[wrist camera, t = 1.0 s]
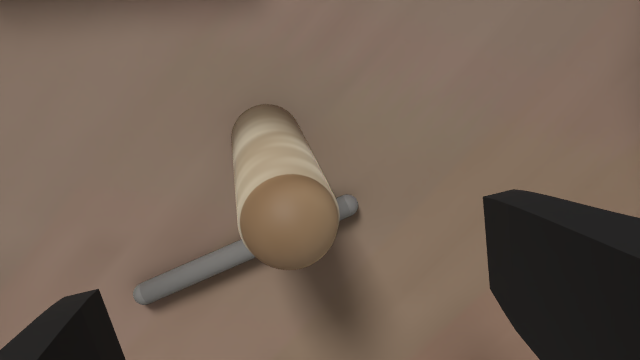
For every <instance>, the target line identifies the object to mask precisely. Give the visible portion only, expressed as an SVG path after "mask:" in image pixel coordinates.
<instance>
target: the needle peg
mask: <svg viewBox="0 0 640 360" xmlns="http://www.w3.org/2000/svg"><path fill="white" fill-rule="evenodd" d="M231 141H232V154H233V168H234V181H235V195H236V208H237V222H238V230H239V234H240V237H241V239H242V241H243V243H244V245H245V246H246V248H247V249H248V250H249V251H250V252H251V253H252V254H253V255H254V256H255V257H256V258H257V259H259V260H260V261H261V262H263V263H264V264H266V265H268V266H270V267H274V268H277V269H282V270H296V269H301V268H305V267H307V266H310V265H312V264H314V263H315V262H317V261H318V260H320V259H321V258H322V257H323V256H324V255H325V254H326V253H327V252H328V250H329V249H330V247H331V246H332V244H333V242H334V240H335V237H336V234H337V230H338V226H339V220H340V213H339V207H338V203H337V200H336V198H335V196H334V194H333V192H332V190H331V188H330V186H329V184H328V182H327V180H326V178H325V176H324V174H323V172H322V171H321V169H320V167H319V165H318V163H317V161H316V159H315V157H314V155H313V153H312V151H311V149H310V147H309V145H308V143H307V141H306V139H305V137H304V135H303V133H302V131H301V130H300V128H299V126H298V124H297V122H296V120H295V119H294V117H293V116H292V115H291V114H290V113H289V112H288V111H286V110H285V109H283V108H281V107H278V106H275V105H269V104H264V105H258V106H254V107H252V108H250V109H248V110H246V111H245V112H244V113H243V114H242V115H241V116H240V117H239V118H238V119H237V121H236V122H235V124H234V127H233V130H232V136H231Z"/></svg>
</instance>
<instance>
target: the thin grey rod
mask: <svg viewBox="0 0 640 360" xmlns="http://www.w3.org/2000/svg"><path fill="white" fill-rule="evenodd" d="M336 200H337V203H338V207H339V213H340V220H342V219H345V218H347V217H349V216H351V215H353V214H354V213H355V212H356V211H357V209H358V202H357V200H356V198H355V197H354V196H352V195H348V194H346V195H342V196H340V197H338V198H336ZM340 220H339V221H340ZM253 258H255V256H254V255H253V254H252V253H251V252H250V251H249V250H248V249H247V248H246V246H245V245H244V243H243V241H242V239H241V240H239V241H237V242H234V243H232V244H230V245H227V246H225V247H223V248H221V249H218V250H216V251H214V252H211V253H209V254H207V255H205V256H202V257H200V258H198V259H195V260H193V261H191V262H188V263H186V264H184V265H182V266H179V267H177V268H175V269H172V270H170V271H168V272H165V273H163V274H161V275H159V276H156V277H154V278H152V279H149V280H147V281H145V282H142V283H140V284H138V285H137V286H136V287H135V289H134V292H133V296H134V299H135V301H136V302H137V303H139V304H142V305H147V304H150V303H152V302H154V301H156V300H159V299H161V298H163V297H166V296H168V295H170V294H173V293H175V292H177V291H179V290H182V289H184V288H186V287H189V286H191V285H193V284H195V283H198V282H200V281H202V280H205V279H207V278H209V277H212V276H214V275H216V274H218V273H221V272H223V271H225V270H228V269H230V268H232V267H234V266H237V265H239V264H241V263H244V262H246V261H248V260H251V259H253Z"/></svg>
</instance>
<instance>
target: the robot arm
mask: <svg viewBox="0 0 640 360" xmlns="http://www.w3.org/2000/svg"><path fill="white" fill-rule="evenodd" d="M483 204H484V217H485V230H486V243H487V256H488V269H489V282H490V289H491V291H492V293H493V294H494V296H495V298H496V300H497V301H498V303H499V305H500V306H501V308H502V310H503V311H504V313H505V314H506V316H507V317H508V319H509V321H510V322H511V324H512V325H513V327H514V328H515V330H516V331H517V332H518V334H519V335H520V336H521V337H522V339H523V340H524V341H525V342H526V344H527V345H528V346H529V347H530V348H531V350H532V351H533V352H534V353H535V354H536V356H537V357H538V358H539V359H540V360H640V218H637V217H632V216H628V215H624V214H620V213H615V212H611V211H607V210H603V209H599V208H595V207H591V206H587V205H583V204H579V203H575V202H571V201H568V200H564V199H560V198H556V197H552V196H547V195H543V194H539V193H534V192H529V191H523V190H514V189H513V190H509V191H505V192H501V193H497V194H492V195H488V196H484V197H483ZM0 360H125V357H124V354H123V352H122V349H121V346H120V344H119V341H118V339H117V336H116V333H115V331H114V328H113V325H112V323H111V320H110V317H109V315H108V312H107V310H106V307H105V304H104V302H103V299H102V296H101V294H100V291H99V289H96V290H92V291H88V292H83V293H79V294H75V295H71V296H67V297H64V298H62V299H61V300H59V301H58V302H56V303H55V304H53V305H52V306H51V307H50V308H48V309H47V310H46V311H45V312H43V313H42V314H41V315H40V316H39V317H37V318H36V319H35V320H34V321H33V322H32V323H31V324H29V325H28V326H27V327H26V328H25V329H24V330H23V331H21V332H20V333H19V334H18V335H17V336H16V337H15V338H14V339H12V340H11V341H10V342H9V343H8V344H7V345H6V346H4V347H3V348H2V349H1V350H0Z"/></svg>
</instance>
